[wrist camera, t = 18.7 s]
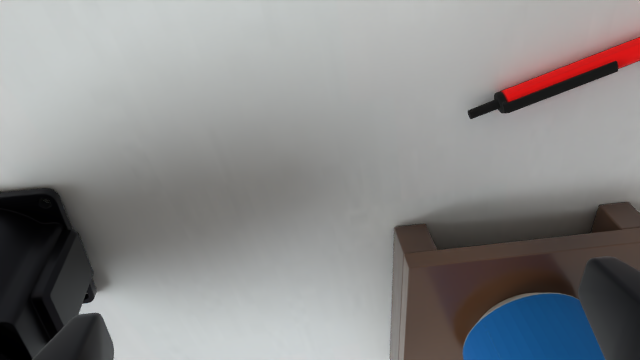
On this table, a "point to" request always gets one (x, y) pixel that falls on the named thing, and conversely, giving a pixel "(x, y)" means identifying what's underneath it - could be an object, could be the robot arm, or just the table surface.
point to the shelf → (490, 278)
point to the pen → (562, 79)
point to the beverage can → (533, 330)
